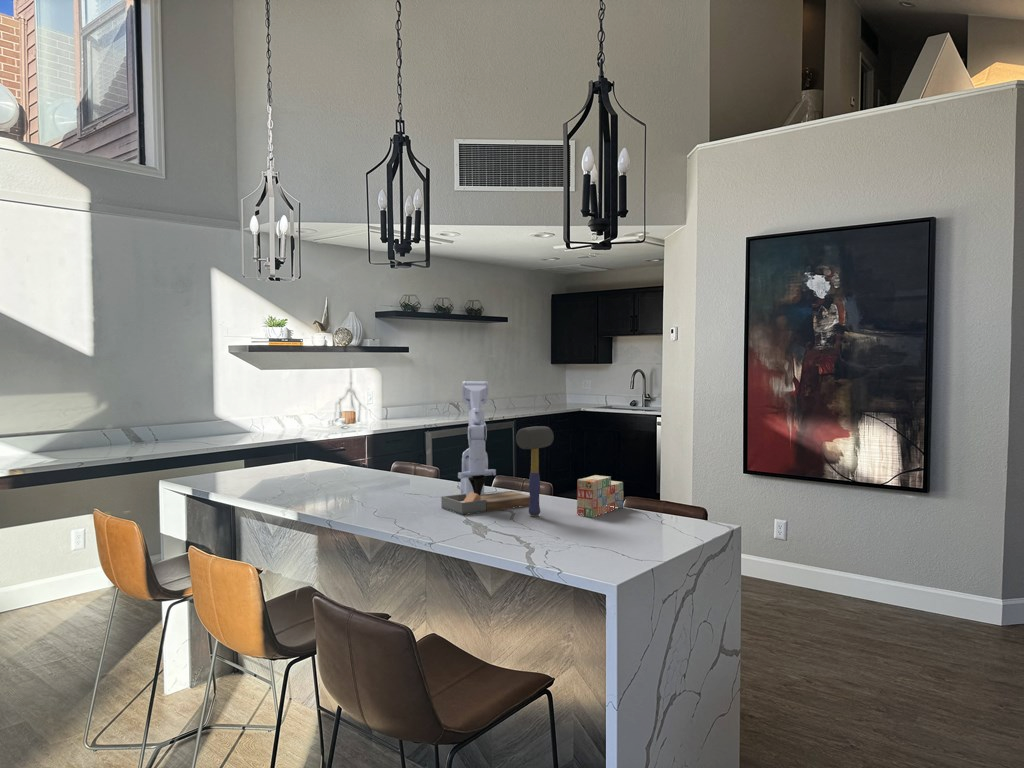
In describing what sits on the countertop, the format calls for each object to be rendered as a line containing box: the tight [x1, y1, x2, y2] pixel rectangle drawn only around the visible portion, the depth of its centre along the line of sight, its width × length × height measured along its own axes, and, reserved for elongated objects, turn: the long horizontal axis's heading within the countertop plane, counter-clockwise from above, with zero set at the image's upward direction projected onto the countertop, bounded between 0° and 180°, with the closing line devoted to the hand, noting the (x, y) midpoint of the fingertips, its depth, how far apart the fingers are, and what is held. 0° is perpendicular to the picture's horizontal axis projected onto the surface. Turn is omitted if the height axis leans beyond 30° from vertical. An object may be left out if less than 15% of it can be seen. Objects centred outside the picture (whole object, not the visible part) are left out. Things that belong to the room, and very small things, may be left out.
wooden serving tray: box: [466, 490, 530, 512], centre depth 254 cm, size 14×20×3 cm
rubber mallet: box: [515, 425, 555, 518], centre depth 235 cm, size 12×8×30 cm, turn 137°
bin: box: [440, 493, 487, 515], centre depth 246 cm, size 14×10×4 cm
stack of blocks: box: [576, 474, 624, 518], centre depth 245 cm, size 21×6×12 cm, turn 143°
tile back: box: [463, 492, 481, 502], centre depth 247 cm, size 5×5×2 cm
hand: (477, 497), depth 249 cm, fingers closed, pressing on tile back
